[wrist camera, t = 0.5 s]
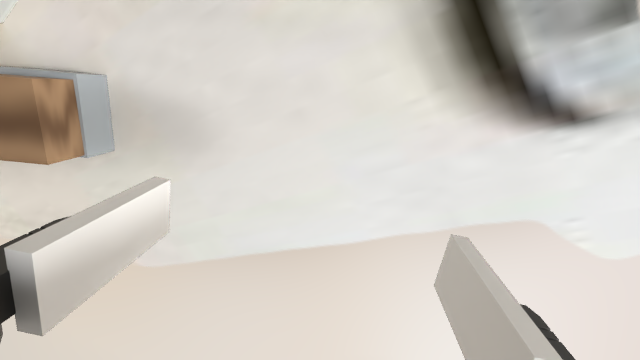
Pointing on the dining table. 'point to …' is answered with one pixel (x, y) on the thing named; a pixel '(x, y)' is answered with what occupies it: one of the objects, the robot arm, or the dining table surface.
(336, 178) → the dining table surface
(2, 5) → the small box
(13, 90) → the brown wooden block
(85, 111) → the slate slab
